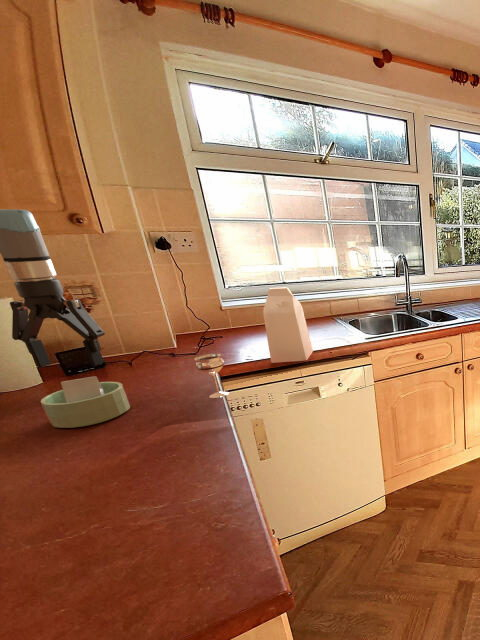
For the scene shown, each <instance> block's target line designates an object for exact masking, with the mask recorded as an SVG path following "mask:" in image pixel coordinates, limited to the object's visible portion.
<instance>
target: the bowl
mask: <svg viewBox="0 0 480 640" xmlns="http://www.w3.org/2000/svg"><path fill="white" fill-rule="evenodd" d="M99 383H100V385H101V387H102V388H103V391H104V393H105V394H104V395H101V396H98V397H95V398H91V399H87V400H82V401H77V402H70V403H67V401H66V399H65V396H64V392H63V389H60V390H58V391H55V392H53V393H50V394H48V395H46V396H44V397H43V398H41V399H40V404H41V407H42V409H43V410H44V413H45V415H46V417H47V419H48V421H49V423H50V425H51V426H52V427H53V428H58V429H59V428H60V429H66V428H67V429H73V428H74V429H75V428H83V427H88V426H92V425H93V426H94V425H98V424H101V423H104V422H108V421H110V420H113V419H115V418H117V417H119V416H121V415H122V414H124V413H126V412H127V411H129V409H131V404H130V401H129V398H128V395H127V392H126V390H125V387H124V384H123V383H121V382H119V381H99Z"/></svg>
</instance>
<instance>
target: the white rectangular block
mask: <svg viewBox="0 0 480 640" xmlns="http://www.w3.org/2000/svg"><path fill="white" fill-rule="evenodd" d="M99 382H100V380H99V378H98V377H97V375H94V376H88V377H83V378H76V379H70V380H63V381H60V385H61V388H62V390H63V392H64V396H65V399H66V401H67V403H70V402H77V401H82V400H87V399H91V398H95V397H98V396H101V395H104V394H105V393H104V391H103V388H102V387H101V385H100V383H99Z"/></svg>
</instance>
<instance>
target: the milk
mask: <svg viewBox="0 0 480 640" xmlns="http://www.w3.org/2000/svg"><path fill="white" fill-rule="evenodd" d="M262 314H263V321H264V327H265V333H266V339H267V345H268V351H269V352H268V353H269V358H270V362H271V364H275V363H290V362H303V361H307V360H308V359H309V358H310V357H311V355H312V354H313V352H314V349H313V346H312V345H313V344H312V341H311V337H310V333H309V330H308V326H307V321H306V317H305V313H304V309H303V306H302V304H301V302H300V301H299V300H298V299H297V298H296V296H294V294H293V292H291V289H290V288H289V287H270V288H268V293H267V297H266V300H265V303H264V306H263V311H262Z"/></svg>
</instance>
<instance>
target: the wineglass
mask: <svg viewBox="0 0 480 640" xmlns="http://www.w3.org/2000/svg"><path fill="white" fill-rule="evenodd" d="M193 360H194V361H195V367H196V369H197V370H198V371H199V372H201V373H203V374H205V375H209V376H211V377H212V380H213V383H214V386H215V389H216V392H214V393H212V394H210V395H209V396H208V397H209V398H210V399H219V398H222V397H226V396H227V395H229V391H220V390H219V386H218V385H219V384H218V381H217V378H216V375H217V373H219V372H220V371H222V369H223V368H224V366H225V361H224V359H223V358H222V354H221V353H216V352H215V353H205V354H202V355H198V356H196V357H194V359H193Z"/></svg>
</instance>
